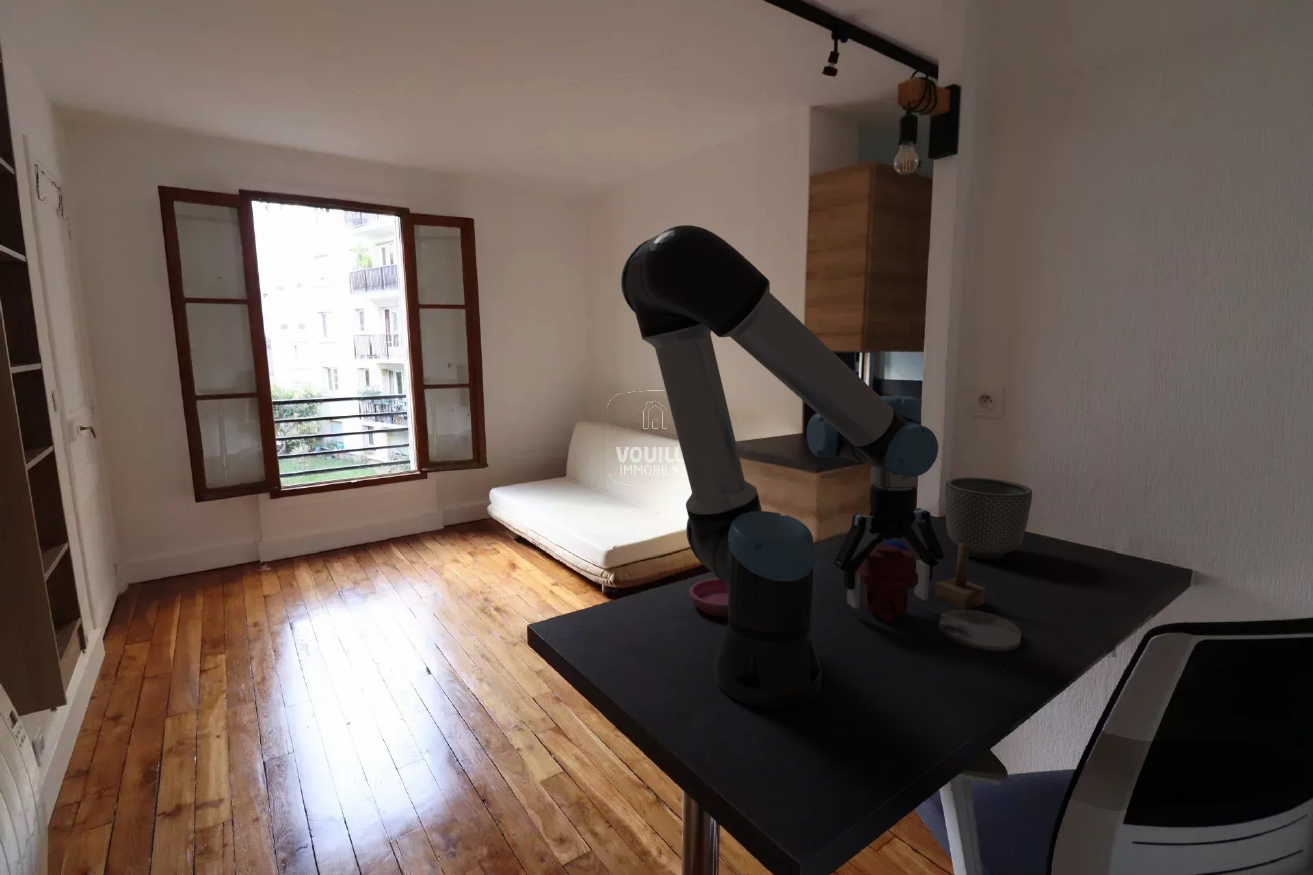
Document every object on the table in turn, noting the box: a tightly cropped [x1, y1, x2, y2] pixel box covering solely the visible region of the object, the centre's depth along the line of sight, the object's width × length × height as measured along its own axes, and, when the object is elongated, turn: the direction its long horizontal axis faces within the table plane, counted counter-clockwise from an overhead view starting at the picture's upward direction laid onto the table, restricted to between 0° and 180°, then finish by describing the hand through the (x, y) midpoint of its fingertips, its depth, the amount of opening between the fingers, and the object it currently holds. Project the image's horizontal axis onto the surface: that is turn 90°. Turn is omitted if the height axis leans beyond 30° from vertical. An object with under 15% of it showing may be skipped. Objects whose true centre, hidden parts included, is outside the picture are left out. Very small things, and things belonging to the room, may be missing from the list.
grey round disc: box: [938, 609, 1022, 653], centre depth 102 cm, size 12×12×2 cm
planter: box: [944, 477, 1033, 561], centre depth 139 cm, size 17×17×16 cm
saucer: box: [689, 578, 728, 618], centre depth 113 cm, size 12×12×3 cm
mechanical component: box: [857, 544, 918, 623], centre depth 108 cm, size 12×10×10 cm
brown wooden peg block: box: [934, 543, 987, 610], centre depth 114 cm, size 6×6×11 cm
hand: (887, 601), depth 109 cm, fingers open, 13 cm apart
